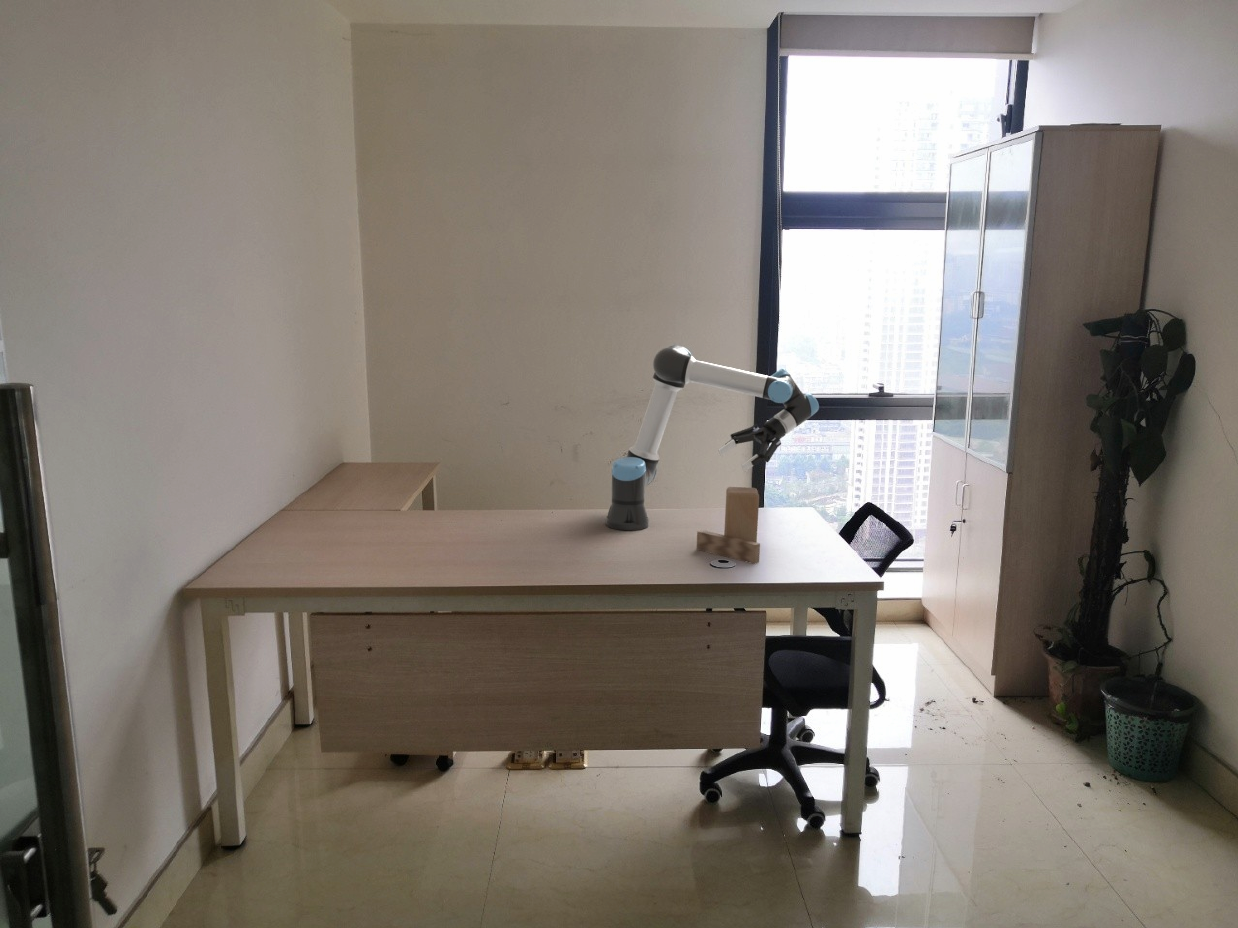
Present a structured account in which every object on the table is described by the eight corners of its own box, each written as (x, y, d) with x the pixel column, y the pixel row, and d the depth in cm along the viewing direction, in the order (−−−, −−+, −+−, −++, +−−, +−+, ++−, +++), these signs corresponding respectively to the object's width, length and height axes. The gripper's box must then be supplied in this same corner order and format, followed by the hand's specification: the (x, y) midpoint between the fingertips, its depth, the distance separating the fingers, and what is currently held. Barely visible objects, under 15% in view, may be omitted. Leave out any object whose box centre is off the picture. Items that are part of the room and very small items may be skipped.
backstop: (696, 549, 290) (697, 531, 289) (700, 547, 292) (701, 529, 291) (754, 563, 277) (755, 545, 275) (759, 562, 278) (760, 543, 277)
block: (756, 555, 286) (759, 494, 282) (724, 553, 286) (727, 492, 283) (753, 546, 296) (757, 487, 292) (723, 544, 296) (726, 486, 292)
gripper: (805, 447, 298) (756, 483, 293) (760, 421, 318) (714, 454, 313) (799, 430, 294) (750, 466, 289) (754, 405, 313) (707, 438, 309)
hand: (731, 460), depth 301 cm, fingers open, 13 cm apart
